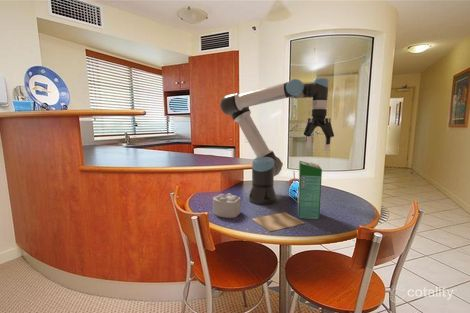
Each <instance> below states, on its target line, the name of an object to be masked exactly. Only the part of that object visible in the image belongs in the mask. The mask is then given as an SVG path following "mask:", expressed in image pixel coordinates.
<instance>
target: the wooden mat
mask: <svg viewBox="0 0 470 313" xmlns="http://www.w3.org/2000/svg"><path fill="white" fill-rule="evenodd" d="M251 220H252V221H254V222H255V223H257V224H258V225H260V227H262V228H264V229H265V230H267V231H268V232H271V233H272V232H275V231H279V230H283V229H287V228H292V227H297V226H302V225H305V224H306V223H305V222H304V221H302V220H300V218H297V217H294V216H293V215H291V214H288V212H285V211H284V212H278V213H274V214H269V215H263V216H259V217H254V218H251Z"/></svg>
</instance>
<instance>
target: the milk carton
mask: <svg viewBox="0 0 470 313" xmlns="http://www.w3.org/2000/svg"><path fill="white" fill-rule="evenodd" d="M298 163H299V164H298V165H299V167H298V179H299V187H298V190H297V216H298V219H306V220H307V219H310V220H320V217H321V216H320V213H321V212H320V211H321V198H322V196H321V195H322V194H321V193H322V192H321V191H322V177H323V176H322V174H323V173H322V172H323V169H322V168H321V167H320V164H319V163H316V162H313V161H310V162H306V161H303V160H299V162H298Z"/></svg>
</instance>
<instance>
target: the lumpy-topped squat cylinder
mask: <svg viewBox="0 0 470 313" xmlns="http://www.w3.org/2000/svg"><path fill="white" fill-rule="evenodd" d="M241 203H242V201H241V197H240V196H237V195H235V194H234V195H233V194H232V193H230V192H229V193H226V194H224V193H220V194H218V195H214V196H213V198H212V213H213V215H215V216H217V217H220V218H228V219H231V218H233V219H235V218H237V217H238V215H240V214H241V212H242V211H241V210H242V209H241V206H242V205H241Z"/></svg>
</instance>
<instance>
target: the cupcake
mask: <svg viewBox="0 0 470 313" xmlns="http://www.w3.org/2000/svg"><path fill="white" fill-rule="evenodd" d="M295 175H296V174H295V171H293V178H290V179H289V181H288V185H289V187H290V186H291V184H292V183H293V181H298V182H299V178H296V176H295Z"/></svg>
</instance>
